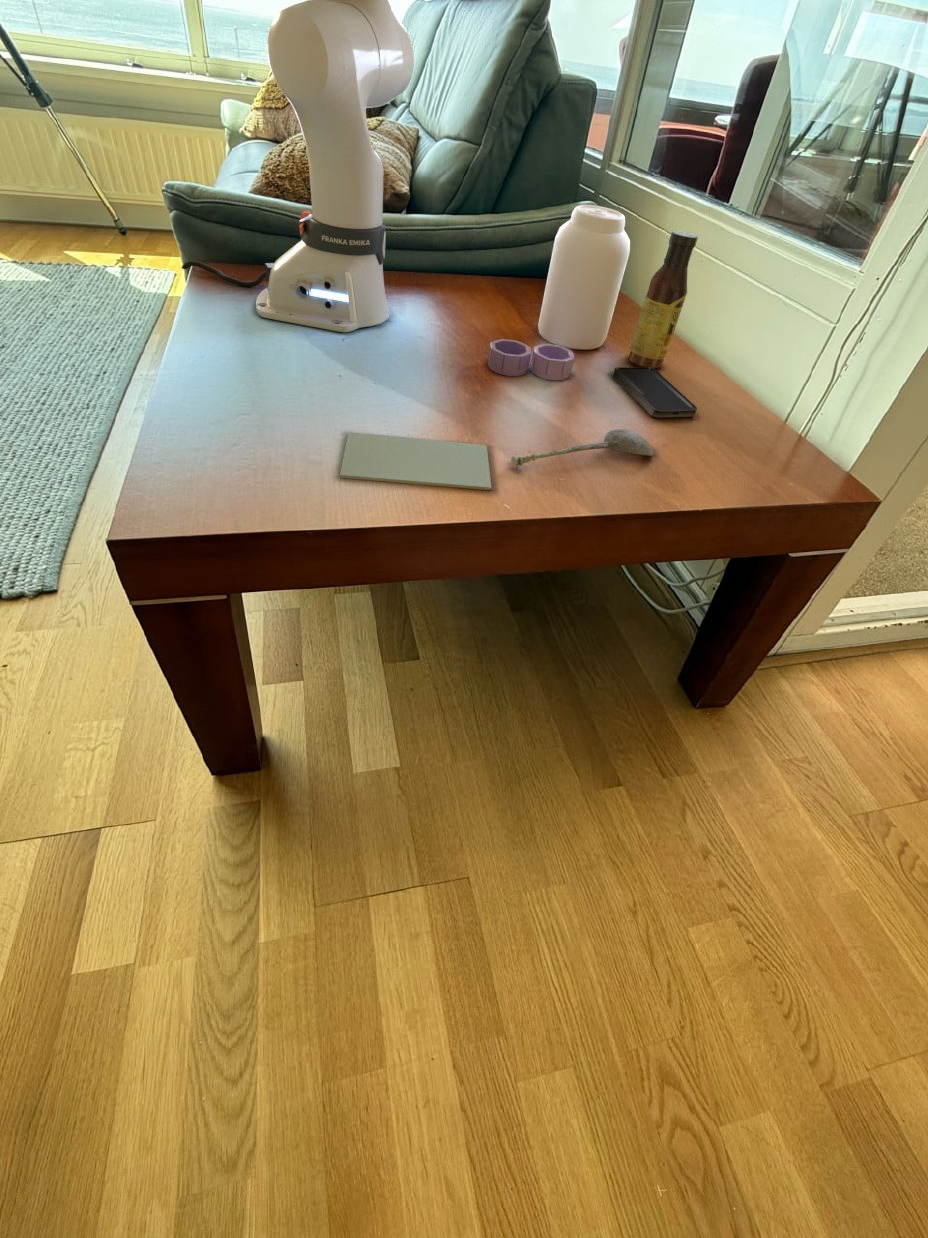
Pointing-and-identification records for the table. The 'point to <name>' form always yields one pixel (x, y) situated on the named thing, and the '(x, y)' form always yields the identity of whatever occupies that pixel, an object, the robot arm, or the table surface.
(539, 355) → the dish right
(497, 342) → the dish left
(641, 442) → the soupspoon
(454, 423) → the table surface
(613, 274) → the white pill bottle
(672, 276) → the sauce bottle
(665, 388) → the phone
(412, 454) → the mat
